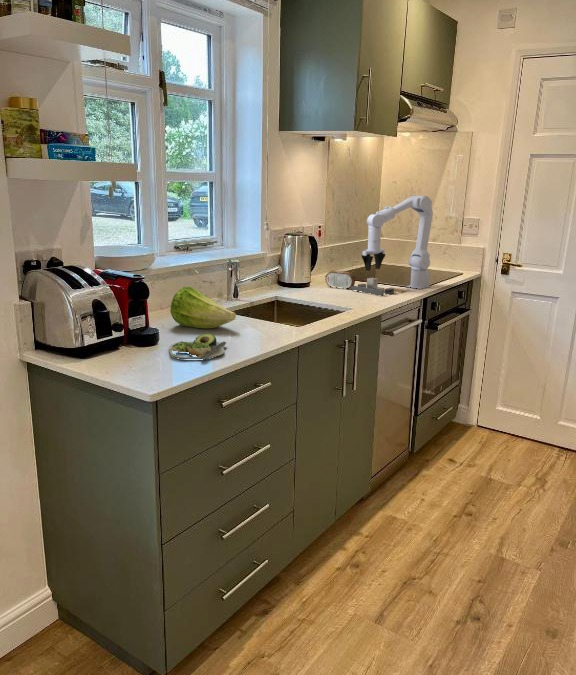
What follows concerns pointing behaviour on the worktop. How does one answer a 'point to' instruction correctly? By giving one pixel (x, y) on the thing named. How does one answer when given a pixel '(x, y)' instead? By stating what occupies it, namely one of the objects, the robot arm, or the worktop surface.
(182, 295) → the lettuce
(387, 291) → the vise jaws
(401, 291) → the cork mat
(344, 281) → the tin
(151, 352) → the worktop surface
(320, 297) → the worktop surface
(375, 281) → the grey t-shaped block
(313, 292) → the worktop surface
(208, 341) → the salad plate
